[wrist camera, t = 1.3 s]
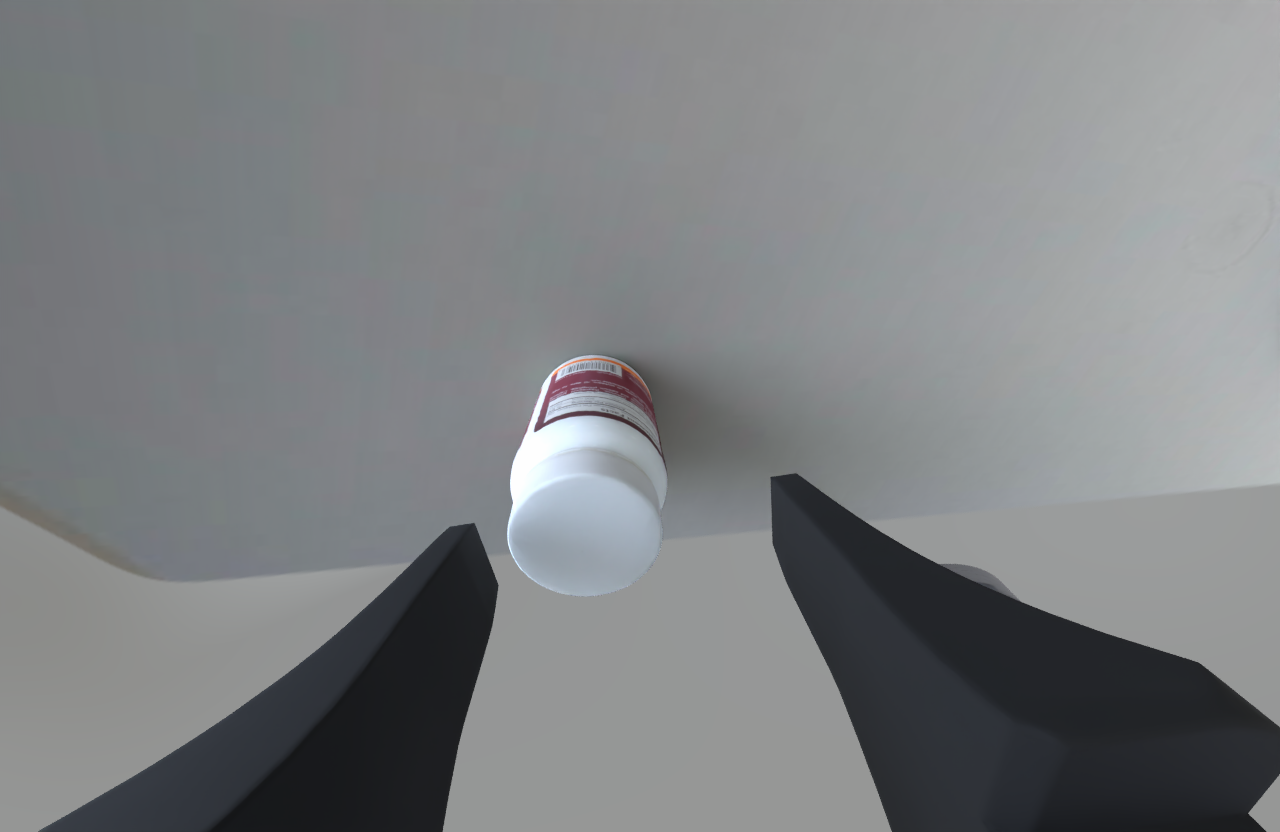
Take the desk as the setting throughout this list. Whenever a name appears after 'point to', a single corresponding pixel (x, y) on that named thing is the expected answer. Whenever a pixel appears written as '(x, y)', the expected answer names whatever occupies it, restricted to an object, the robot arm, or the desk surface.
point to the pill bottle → (588, 481)
